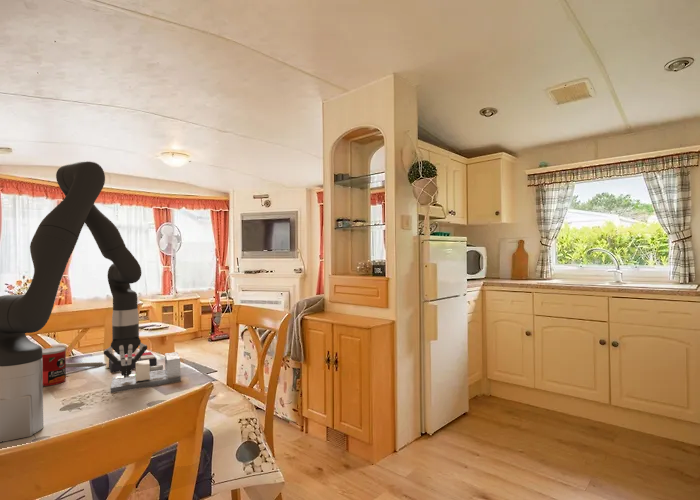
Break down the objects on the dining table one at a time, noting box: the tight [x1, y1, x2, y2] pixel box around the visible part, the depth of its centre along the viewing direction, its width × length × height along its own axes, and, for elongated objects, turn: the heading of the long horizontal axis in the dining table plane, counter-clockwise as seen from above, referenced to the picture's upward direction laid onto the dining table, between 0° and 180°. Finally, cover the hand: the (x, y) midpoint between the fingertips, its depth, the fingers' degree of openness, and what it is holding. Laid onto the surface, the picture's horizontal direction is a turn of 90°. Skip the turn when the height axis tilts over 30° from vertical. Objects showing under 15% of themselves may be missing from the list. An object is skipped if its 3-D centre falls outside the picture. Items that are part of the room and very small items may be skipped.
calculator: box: [108, 351, 158, 374], centre depth 151 cm, size 11×4×15 cm
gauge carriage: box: [135, 360, 164, 381], centre depth 133 cm, size 10×8×5 cm
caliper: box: [66, 361, 108, 369], centre depth 146 cm, size 20×1×6 cm, turn 137°
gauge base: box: [110, 351, 182, 394], centre depth 131 cm, size 12×20×8 cm, turn 119°
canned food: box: [42, 346, 67, 387], centre depth 133 cm, size 8×8×11 cm
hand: (126, 376), depth 128 cm, fingers closed
